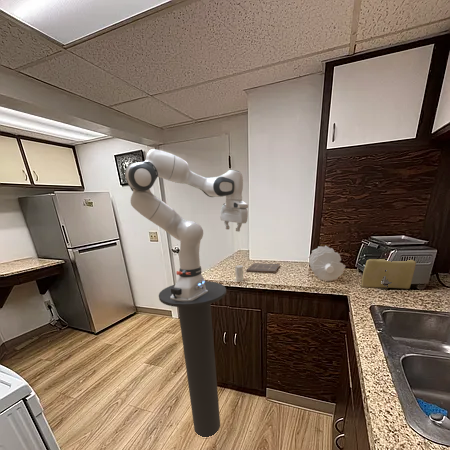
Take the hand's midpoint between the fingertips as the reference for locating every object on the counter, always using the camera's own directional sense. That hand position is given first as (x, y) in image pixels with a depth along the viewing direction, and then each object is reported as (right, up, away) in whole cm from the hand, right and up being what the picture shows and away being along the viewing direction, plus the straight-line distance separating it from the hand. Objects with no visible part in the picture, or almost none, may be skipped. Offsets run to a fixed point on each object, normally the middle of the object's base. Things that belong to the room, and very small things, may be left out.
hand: (232, 230), depth 139 cm
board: (+24, -17, +40) cm, 50 cm away
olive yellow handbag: (+81, -32, -6) cm, 88 cm away
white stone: (+5, -26, +18) cm, 33 cm away
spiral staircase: (+58, -25, +16) cm, 65 cm away
